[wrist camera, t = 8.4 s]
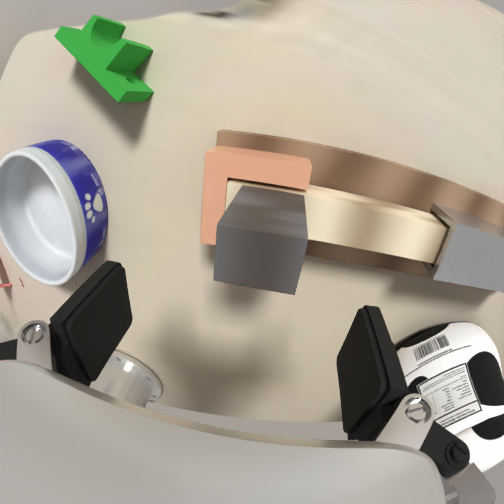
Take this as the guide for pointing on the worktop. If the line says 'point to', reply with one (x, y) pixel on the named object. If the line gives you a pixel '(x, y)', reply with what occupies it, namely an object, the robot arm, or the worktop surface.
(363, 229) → the bar
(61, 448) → the robot arm
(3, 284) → the figurine
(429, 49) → the worktop surface
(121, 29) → the pipe clamp
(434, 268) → the grey concrete brick
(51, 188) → the dog bowl
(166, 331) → the worktop surface
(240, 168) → the socket
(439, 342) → the milk container
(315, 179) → the board
